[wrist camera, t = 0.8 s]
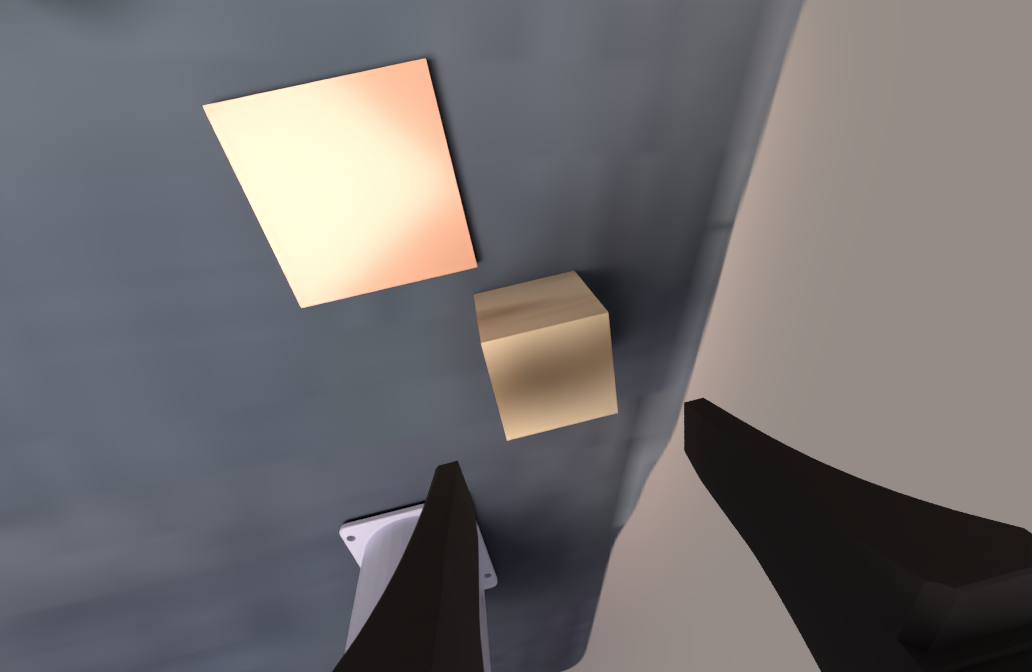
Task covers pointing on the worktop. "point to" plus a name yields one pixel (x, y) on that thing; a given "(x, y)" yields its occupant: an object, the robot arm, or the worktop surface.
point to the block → (547, 353)
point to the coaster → (350, 180)
